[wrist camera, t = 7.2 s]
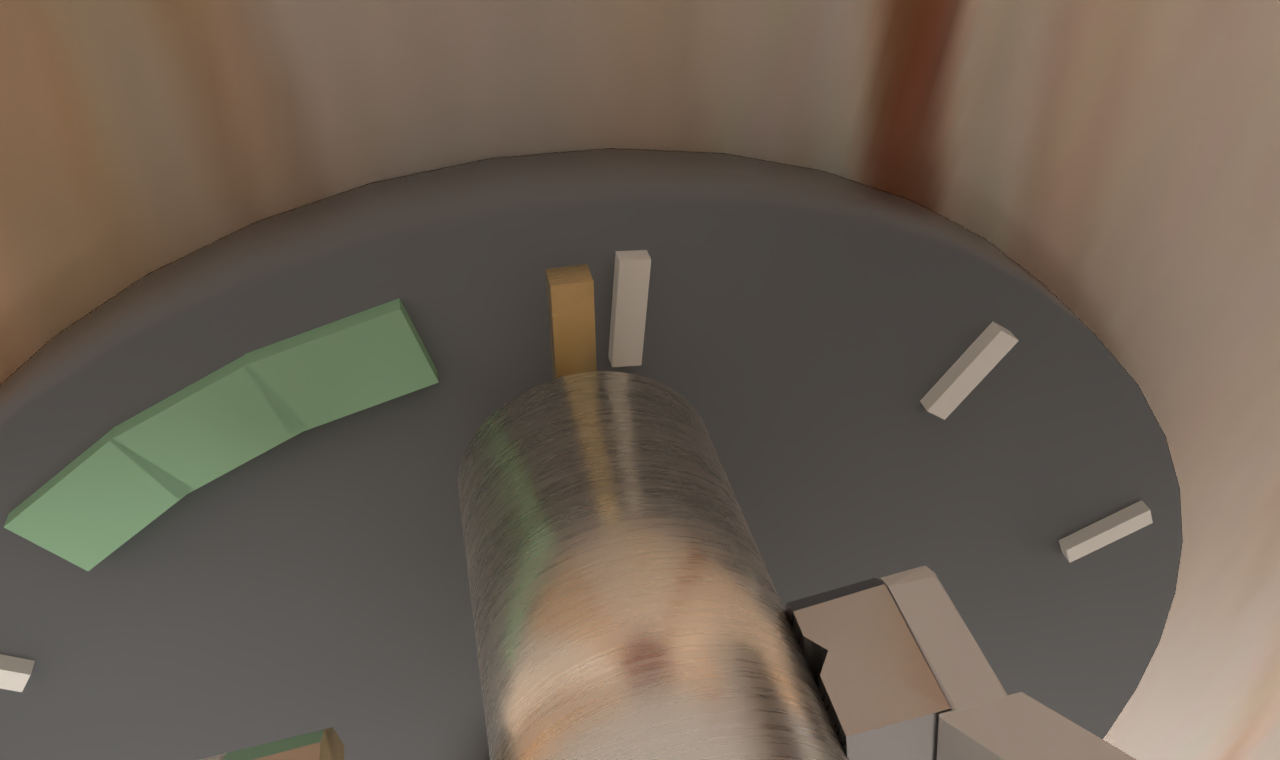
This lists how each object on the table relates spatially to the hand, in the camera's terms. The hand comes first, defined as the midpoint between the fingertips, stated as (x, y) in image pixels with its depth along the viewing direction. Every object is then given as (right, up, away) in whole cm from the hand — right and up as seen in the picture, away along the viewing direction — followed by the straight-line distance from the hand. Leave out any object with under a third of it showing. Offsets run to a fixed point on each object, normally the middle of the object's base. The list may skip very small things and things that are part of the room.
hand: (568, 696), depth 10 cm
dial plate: (-1, -3, +10) cm, 11 cm away
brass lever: (0, -1, +6) cm, 6 cm away
